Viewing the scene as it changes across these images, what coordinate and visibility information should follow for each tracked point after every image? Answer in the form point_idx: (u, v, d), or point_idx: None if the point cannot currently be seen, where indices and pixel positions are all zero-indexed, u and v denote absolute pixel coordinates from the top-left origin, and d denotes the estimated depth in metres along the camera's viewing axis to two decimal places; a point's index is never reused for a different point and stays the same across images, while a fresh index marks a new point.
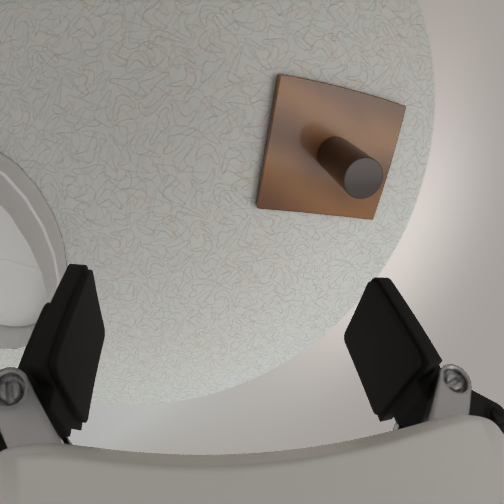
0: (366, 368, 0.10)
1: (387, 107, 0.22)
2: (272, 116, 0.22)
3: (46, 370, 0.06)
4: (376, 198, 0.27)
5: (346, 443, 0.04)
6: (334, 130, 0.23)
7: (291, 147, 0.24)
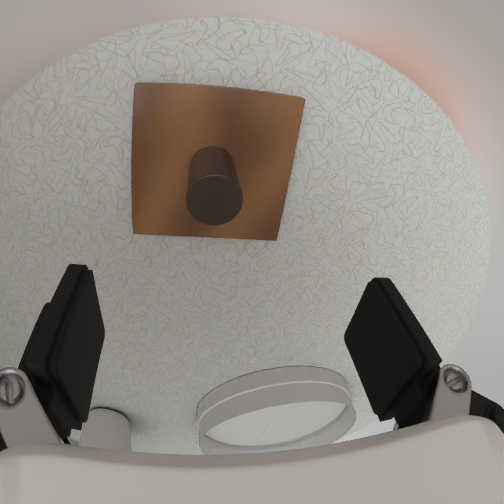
0: (366, 368, 0.10)
1: (142, 110, 0.18)
2: None
3: (46, 370, 0.06)
4: (272, 99, 0.19)
5: (346, 443, 0.04)
6: (182, 172, 0.21)
7: None
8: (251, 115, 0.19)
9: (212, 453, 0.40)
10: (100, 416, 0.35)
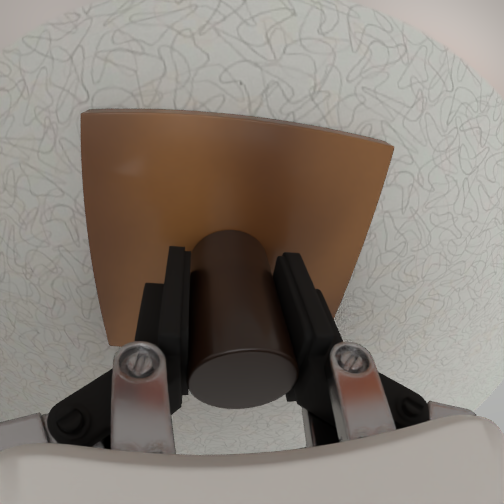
0: None
1: (97, 165, 0.10)
2: None
3: (179, 339, 0.07)
4: (341, 145, 0.10)
5: (346, 443, 0.04)
6: None
7: None
8: (302, 175, 0.11)
9: None
10: None
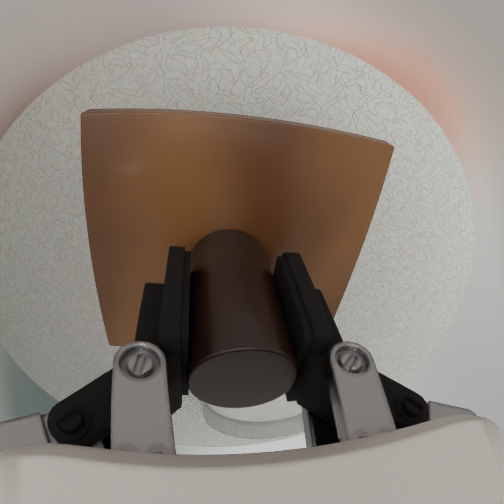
0: None
1: (97, 164, 0.10)
2: None
3: (180, 339, 0.07)
4: (341, 145, 0.10)
5: (346, 443, 0.04)
6: None
7: None
8: (302, 174, 0.11)
9: (215, 425, 0.45)
10: None
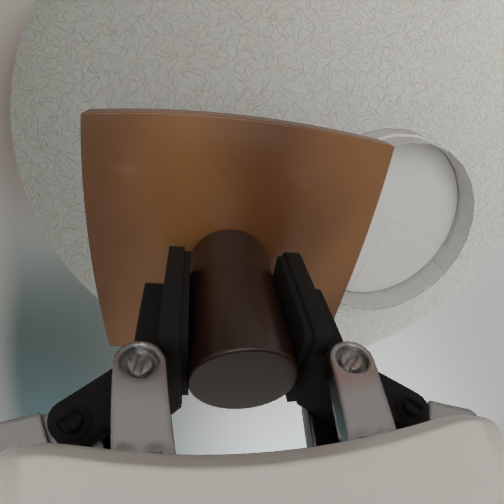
0: None
1: (97, 165, 0.10)
2: None
3: (179, 339, 0.07)
4: (342, 145, 0.10)
5: (346, 443, 0.04)
6: None
7: None
8: (303, 174, 0.11)
9: None
10: None
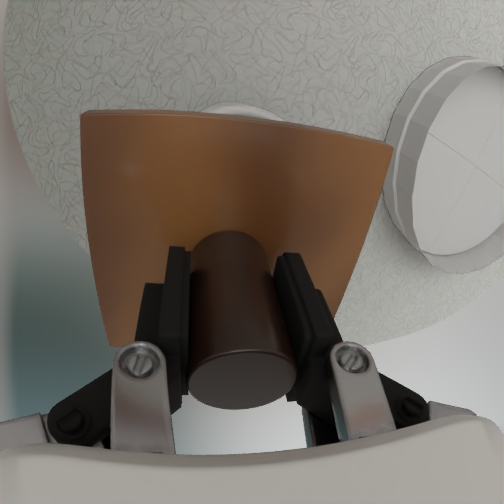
0: None
1: (96, 165, 0.10)
2: None
3: (179, 339, 0.07)
4: (341, 146, 0.10)
5: (346, 443, 0.04)
6: None
7: None
8: (302, 175, 0.11)
9: (409, 224, 0.25)
10: None
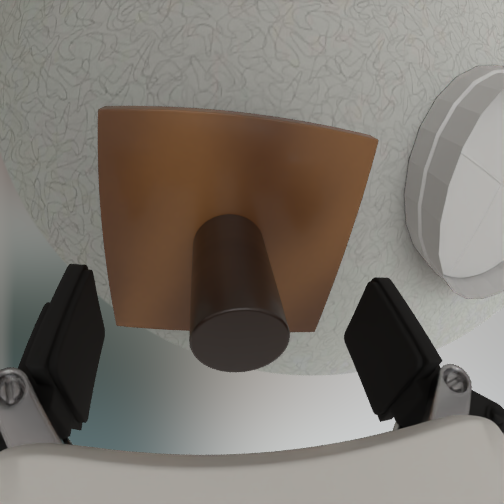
0: (366, 368, 0.10)
1: (112, 155, 0.11)
2: None
3: (46, 370, 0.06)
4: (329, 138, 0.12)
5: (346, 443, 0.04)
6: (183, 252, 0.14)
7: None
8: (294, 165, 0.12)
9: (433, 251, 0.22)
10: None
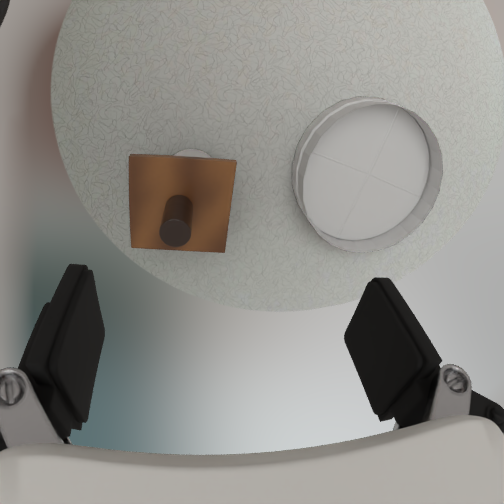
0: (366, 368, 0.10)
1: (134, 173, 0.31)
2: None
3: (46, 370, 0.06)
4: (214, 164, 0.31)
5: (346, 443, 0.04)
6: (161, 210, 0.33)
7: None
8: (202, 175, 0.32)
9: (307, 217, 0.42)
10: (190, 149, 0.37)
